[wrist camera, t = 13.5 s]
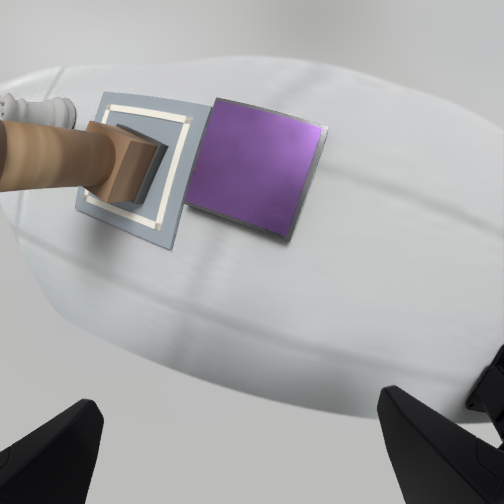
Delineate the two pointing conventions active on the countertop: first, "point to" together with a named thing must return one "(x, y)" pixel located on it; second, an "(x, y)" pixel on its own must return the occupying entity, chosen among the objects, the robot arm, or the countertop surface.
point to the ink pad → (255, 166)
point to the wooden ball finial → (79, 159)
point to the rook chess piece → (38, 111)
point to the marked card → (170, 170)
